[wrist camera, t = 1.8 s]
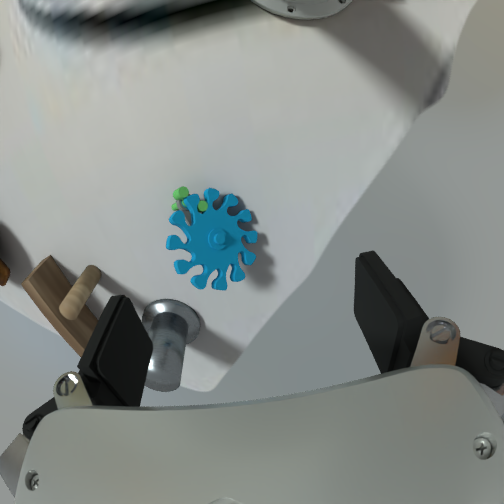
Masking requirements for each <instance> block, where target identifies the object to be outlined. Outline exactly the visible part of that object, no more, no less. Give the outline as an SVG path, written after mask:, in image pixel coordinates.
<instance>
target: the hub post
mask: <svg viewBox="0 0 504 504" xmlns="http://www.w3.org/2000/svg"><path fill="white" fill-rule="evenodd" d="M142 323H143V326H144V328H145V329H146V331H147V333H148V335H149V337H150V339H151V340H152V343H153V353H152V356H151V360H150V364H149V368H148V373H147V377H146V381H145V386H147V387H148V388H150V389H153V390H156V391H161V392H169V391H173V390H176V389H177V388H178V387H179V386H180V381H181V374H182V367H183V360H184V354H185V347H186V344H188V343H191V342H192V341H194V340H195V339H196V337H197V336H198V334H199V330H200V320H199V318H198V316H197V314H196V313H195V311H194V310H193V309H192V308H190V307H189V306H188V305H186V304H184V303H182V302H180V301H176V300H172V299H161V300H156V301H154V302H152V303H150V304H149V305H148V306H147V307H146V309H145V311H144V313H143V316H142Z"/></svg>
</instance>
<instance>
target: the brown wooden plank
mask: <svg viewBox="0 0 504 504" xmlns="http://www.w3.org/2000/svg"><path fill="white" fill-rule="evenodd" d="M21 285H22V286H23V288H24V289H25V291H26V292H27V293H28V295H29V296H30V298H31V299H32V300H33V302H34V303H35V304H36V305H37V307H38V308H39V309H40V311H41V312H42V313H43V314H44V316H45V317H46V318H47V319H48V321H49V322H50V323H51V324H52V326H53V327H54V328H55V329H56V330H57V331H58V333H59V334H60V335H61V336H62V337H63V338H64V339H65V341H66V342H67V343H68V344H69V345H70V346H71V347H72V348H73V349H74V350H75V352H76V353H77V354H78V355H79V356H80V357H82V355H83V352H84V350H85V348H86V346H87V344H88V341H89V339H90V337H91V335H92V333H93V331H94V329H95V327H96V325H97V323H98V320H97V319H96V317H95V316H94V315H93V314H92V312H91V311H90V310H89V309H88V307H87V306H86V305H85V304H84V306H83V308H82V309H81V311H80V313H79V315H78V316H77V318H76V319H75V320H69V319H67V318H65V317H64V316H63V315H62V314H61V312H60V310H59V306H60V304H61V303H62V301H63V300H64V298H65V297H66V295H67V294H68V293H69V291H70V290H71V288H72V286H71V285H70V283H69V282H68V280H67V279H66V277H65V276H64V275H63V273H62V272H61V270H60V269H59V267H58V266H57V264H56V263H55V261H54V260H53V258H52V257H51V255H50V256H48V257H47V258H45V259H43V260H42V261H41V262H40V263H39V264H38V266H37V267H36V268H35V269H34V270H33V271H32V272H31V273H30V274H29V276H28V277H27V278H26V279H25V280H24V281H23V282H22V284H21Z"/></svg>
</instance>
